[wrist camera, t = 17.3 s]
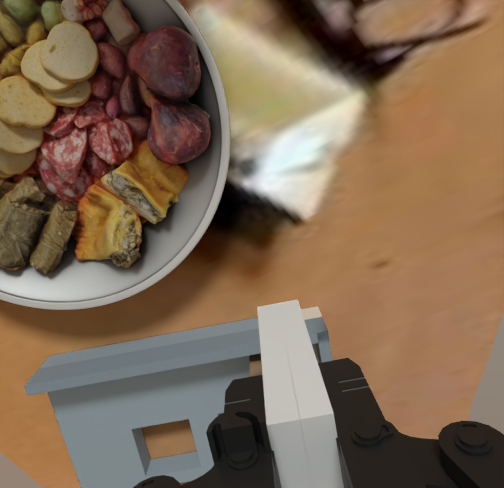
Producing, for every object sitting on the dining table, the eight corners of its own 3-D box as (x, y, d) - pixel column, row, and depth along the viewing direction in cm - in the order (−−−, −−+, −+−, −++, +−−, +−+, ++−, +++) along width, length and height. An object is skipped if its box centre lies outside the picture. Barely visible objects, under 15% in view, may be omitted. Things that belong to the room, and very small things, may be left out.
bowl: (29, 339, 45) (-15, 382, 37) (-177, 64, 38) (-282, 48, 30) (288, 201, 42) (298, 217, 34) (116, -128, 35) (81, -199, 27)
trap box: (93, 481, 49) (75, 523, 44) (49, 355, 45) (24, 386, 40) (339, 438, 48) (351, 476, 43) (317, 306, 44) (327, 330, 39)
